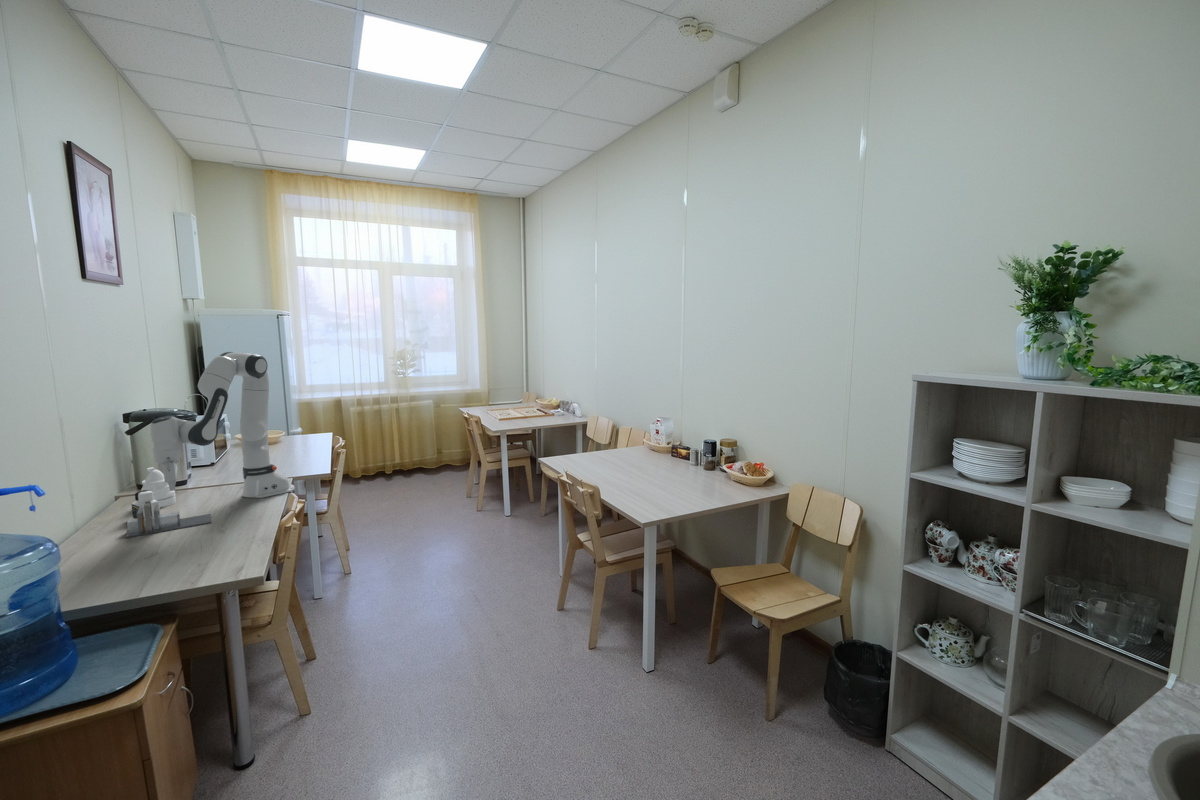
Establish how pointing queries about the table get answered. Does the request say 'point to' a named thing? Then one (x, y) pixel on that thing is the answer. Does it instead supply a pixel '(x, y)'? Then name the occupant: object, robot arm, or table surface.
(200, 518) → the rail
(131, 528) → the orange-striped grey block
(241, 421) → the robot arm
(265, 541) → the table surface
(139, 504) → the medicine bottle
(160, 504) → the honey pot
